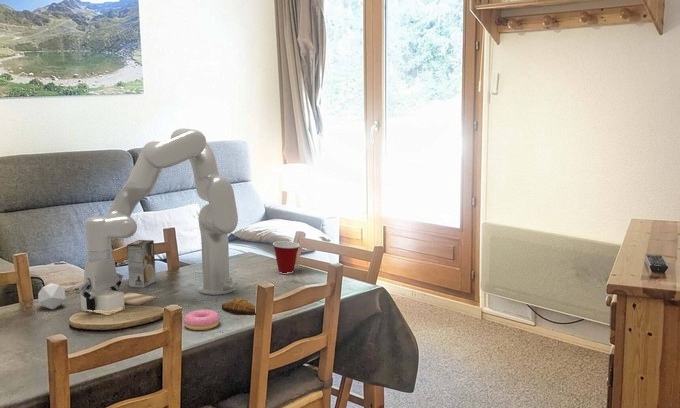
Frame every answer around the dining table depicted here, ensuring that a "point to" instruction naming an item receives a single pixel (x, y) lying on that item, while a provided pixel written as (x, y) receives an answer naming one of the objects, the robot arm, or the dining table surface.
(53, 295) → the die
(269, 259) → the dining table surface
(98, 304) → the white rounded block
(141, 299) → the tan flat pointed slab
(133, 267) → the coffee box
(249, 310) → the croissant
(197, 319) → the doughnut
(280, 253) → the plastic cup
